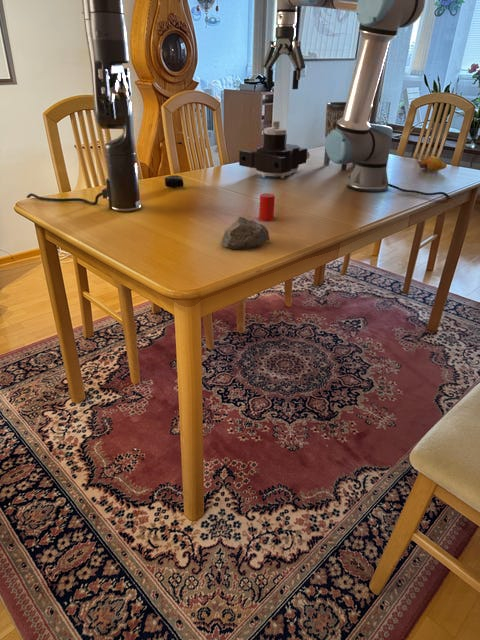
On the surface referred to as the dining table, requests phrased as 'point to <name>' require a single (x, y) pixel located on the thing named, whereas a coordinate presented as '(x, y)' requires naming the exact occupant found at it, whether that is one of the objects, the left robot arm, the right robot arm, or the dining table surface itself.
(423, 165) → the toy
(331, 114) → the planter
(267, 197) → the canister
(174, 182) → the tape measure
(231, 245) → the rock
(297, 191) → the dining table surface
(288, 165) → the mechanical component
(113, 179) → the left robot arm
